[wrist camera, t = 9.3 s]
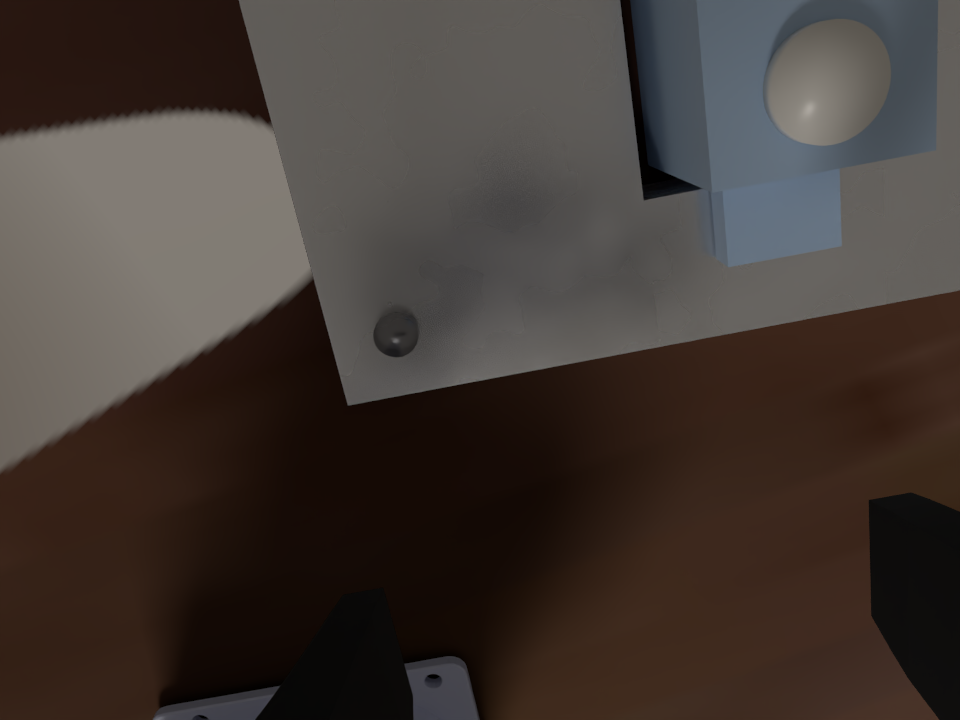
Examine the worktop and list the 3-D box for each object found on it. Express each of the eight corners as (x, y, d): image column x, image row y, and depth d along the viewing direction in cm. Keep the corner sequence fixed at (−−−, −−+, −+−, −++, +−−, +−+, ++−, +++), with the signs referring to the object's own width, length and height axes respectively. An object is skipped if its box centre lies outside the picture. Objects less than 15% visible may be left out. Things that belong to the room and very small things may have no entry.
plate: (357, 375, 20) (346, 408, 18) (188, -273, 15) (147, -328, 13) (1141, 226, 19) (1223, 243, 17) (1212, -499, 15) (1335, -594, 13)
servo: (656, 246, 19) (728, 304, 14) (604, -229, 16) (674, -374, 11) (817, 215, 19) (947, 264, 14) (799, -269, 16) (960, -435, 11)
